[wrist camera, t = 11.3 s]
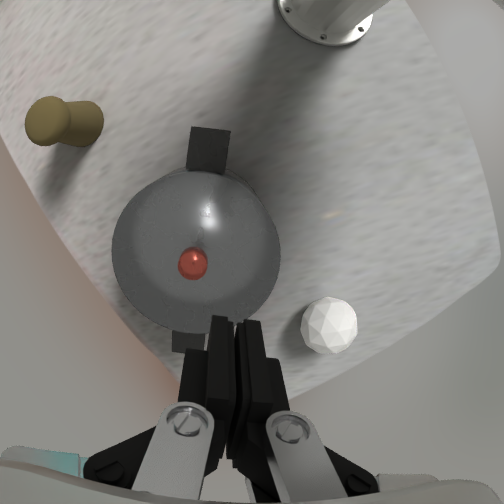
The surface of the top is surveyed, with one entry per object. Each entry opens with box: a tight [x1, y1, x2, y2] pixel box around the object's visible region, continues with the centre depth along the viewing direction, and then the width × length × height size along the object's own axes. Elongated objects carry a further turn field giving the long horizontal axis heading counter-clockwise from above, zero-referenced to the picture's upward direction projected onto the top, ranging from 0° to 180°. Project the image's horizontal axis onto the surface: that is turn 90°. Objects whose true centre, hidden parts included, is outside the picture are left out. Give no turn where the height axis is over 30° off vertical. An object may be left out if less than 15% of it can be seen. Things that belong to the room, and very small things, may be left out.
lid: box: [112, 172, 280, 334], centre depth 29 cm, size 16×16×3 cm
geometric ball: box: [300, 297, 357, 354], centre depth 42 cm, size 8×8×8 cm
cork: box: [25, 96, 104, 147], centre depth 29 cm, size 6×6×11 cm
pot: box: [160, 126, 268, 353], centre depth 36 cm, size 24×16×10 cm, turn 171°
